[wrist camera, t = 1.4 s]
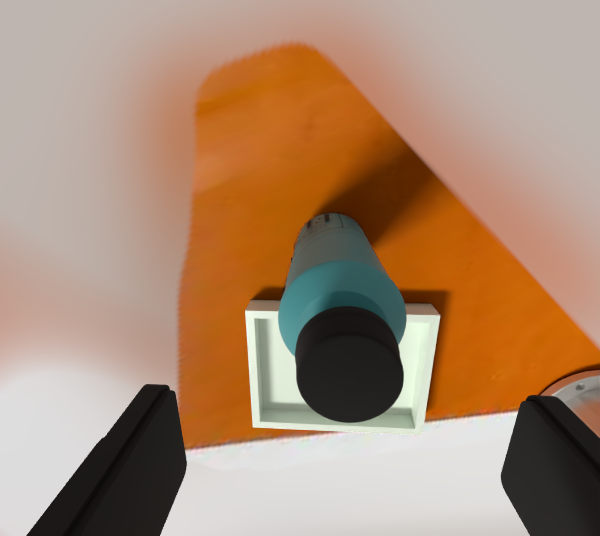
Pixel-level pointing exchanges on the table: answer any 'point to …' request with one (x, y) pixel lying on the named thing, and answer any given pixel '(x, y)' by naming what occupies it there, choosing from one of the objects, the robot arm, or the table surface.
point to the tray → (283, 386)
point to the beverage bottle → (342, 322)
